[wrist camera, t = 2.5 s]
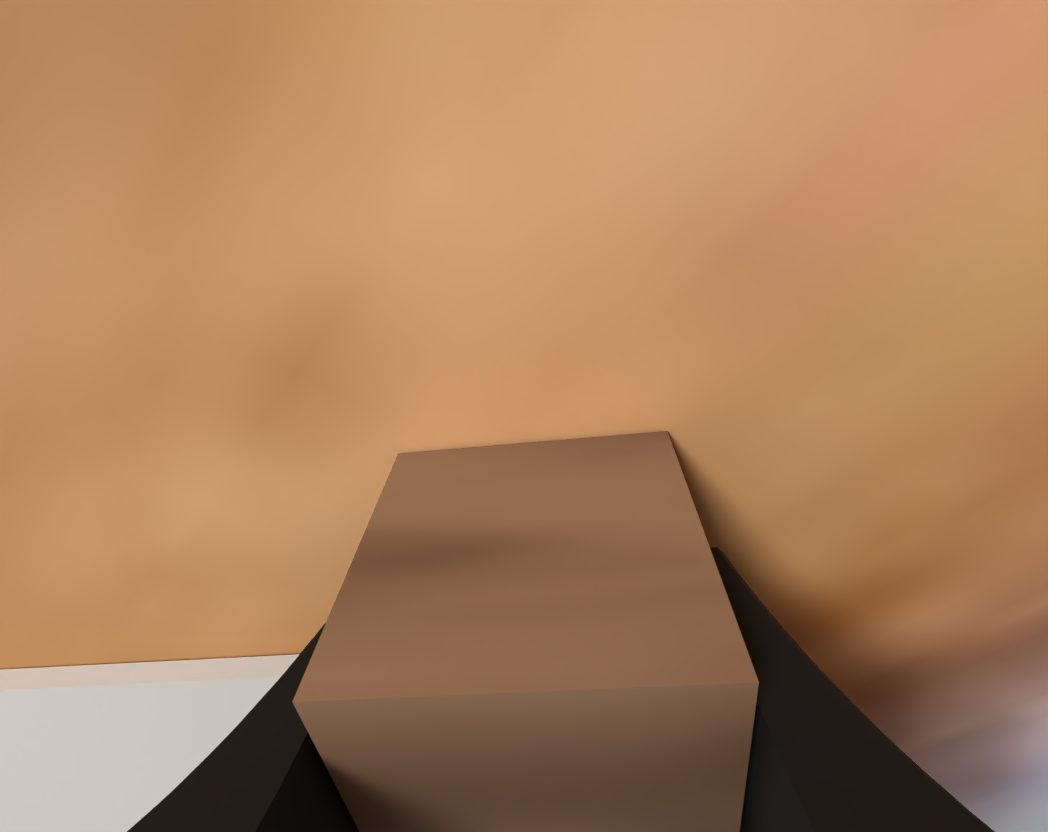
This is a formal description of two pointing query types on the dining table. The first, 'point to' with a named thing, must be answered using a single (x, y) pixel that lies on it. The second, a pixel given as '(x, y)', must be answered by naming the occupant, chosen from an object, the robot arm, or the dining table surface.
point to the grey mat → (115, 735)
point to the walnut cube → (534, 649)
